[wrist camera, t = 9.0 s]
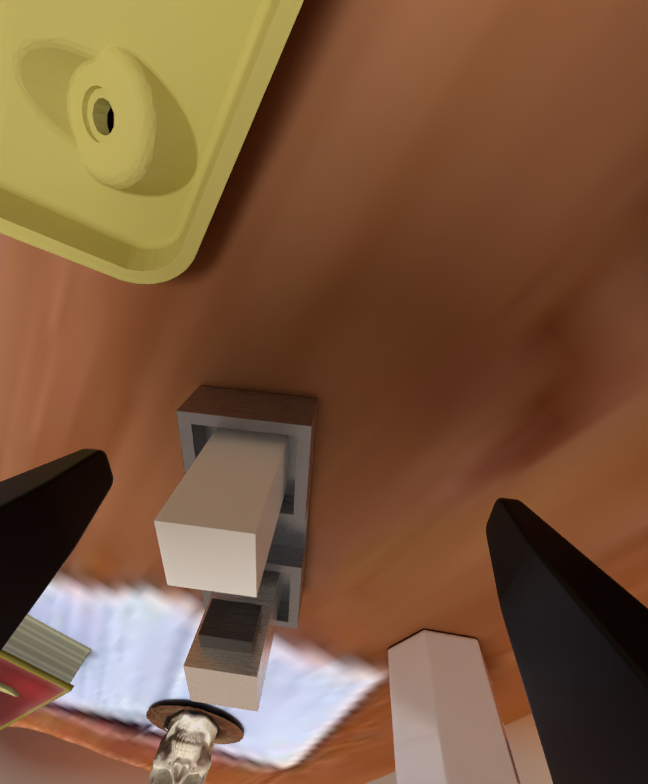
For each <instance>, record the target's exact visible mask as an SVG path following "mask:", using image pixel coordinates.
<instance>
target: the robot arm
mask: <svg viewBox="0 0 648 784" xmlns="http://www.w3.org/2000/svg"><path fill="white" fill-rule="evenodd" d="M112 483H113V475H112V471H111V468H110V465H109V462H108V459H107V455H106V454H105V452H104V451H102V450H97V449H82V450H79V451H77V452H74V453H72V454H69V455H67V456H64V457H62V458H59V459H57V460H54V461H52V462H49V463H47V464H44V465H42V466H39V467H37V468H34V469H32V470H29V471H26V472H24V473H21V474H19V475H16V476H14V477H11V478H9V479H6V480H4V481H1V482H0V651H1V650H2V649H3V647H4V646H5V644H6V643H7V642H8V640H9V639H10V638H11V636H12V635H13V633H14V632H15V631H16V629H17V628H18V626H19V625H20V624H21V622H22V621H23V619H24V618H25V617H26V615H27V614H28V613H29V611H30V610H31V608H32V607H33V606H34V604H35V603H36V601H37V600H38V599H39V597H40V596H41V594H42V593H43V592H44V590H45V589H46V587H47V586H48V585H49V583H50V582H51V581H52V579H53V578H54V576H55V575H56V574H57V572H58V571H59V569H60V568H61V567H62V565H63V564H64V562H65V561H66V560H67V558H68V557H69V555H70V554H71V552H72V551H73V550H74V548H75V547H76V545H77V543H78V542H79V540H80V539H81V537H82V535H83V534H84V532H85V530H86V529H87V527H88V525H89V524H90V522H91V520H92V519H93V517H94V515H95V513H96V512H97V510H98V508H99V507H100V505H101V503H102V502H103V500H104V498H105V497H106V495H107V493H108V491H109V490H110V488H111V486H112ZM486 535H487V541H488V546H489V551H490V556H491V562H492V567H493V572H494V577H495V583H496V588H497V593H498V598H499V602H500V607H501V611H502V614H503V618H504V621H505V625H506V628H507V631H508V635H509V638H510V641H511V645H512V648H513V651H514V655H515V658H516V661H517V665H518V668H519V671H520V675H521V678H522V681H523V685H524V688H525V691H526V695H527V698H528V701H529V705H530V708H531V711H532V715H533V718H534V721H535V725H536V727H537V731H538V734H539V738H540V741H541V744H542V747H543V751H544V754H545V758H546V761H547V764H548V768H549V771H550V774H551V778H552V781H553V784H648V608H646V607H645V606H644V605H643V604H642V603H640V602H639V601H638V600H637V599H636V598H635V597H633V596H632V595H631V594H630V593H629V592H627V591H626V590H625V589H624V588H623V587H622V586H620V585H619V584H618V583H617V582H616V581H614V580H613V579H612V578H611V577H610V576H609V575H607V574H606V573H605V572H604V571H603V570H601V569H600V568H599V567H598V566H597V565H596V564H594V563H593V562H592V561H591V560H590V559H588V558H587V557H586V556H585V555H584V554H583V553H581V552H580V551H579V550H578V549H577V548H575V547H574V546H573V545H572V544H571V543H570V542H568V541H567V540H566V539H565V538H564V537H562V536H561V535H560V534H559V533H558V532H556V531H555V530H554V529H553V528H552V527H551V526H549V525H548V524H547V523H546V522H545V521H543V520H542V519H541V518H540V517H539V516H538V515H536V514H535V513H534V512H533V511H532V510H530V509H529V508H528V507H527V506H526V505H525V504H523V503H522V502H521V501H519V500H516V499H508V498H499V499H497V500H496V502H495V504H494V507H493V509H492V512H491V514H490V517H489V520H488V522H487V526H486Z"/></svg>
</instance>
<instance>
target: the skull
mask: <svg viewBox="0 0 648 784" xmlns="http://www.w3.org/2000/svg"><path fill="white" fill-rule="evenodd" d="M155 706H157V705H155ZM146 716H147V719H149V721H150V722H152V723H153V724H155V726H157V727H158V728H161V729H162V730H164V731H166V729H168V731H166V732H167V734H166V735H165V736H164V737H163V739H162V740H161V742H160V746H159V749H158V751H157V754H156V757H155V759H154V762H153V766H152V770H151V773H150V777H149V784H204V783H205V779H206V776H207V774H208V770H209V768H210V766H211V763H212V761H211V755H212V751H213V743H217V744H229V743H236V742H239V741H240V740H241V739H242V738H243V732H242V730H241V729H240V728H239V727H238V726H236V725H235V724H234V723H231V722H232V721H231V722H230V721H228V720H226V719H224V718H222V717H219V716H217V715H215V714H212V713H209V712H206V711H203V710H201V709H198V708H196V709H195V708H194V707H190V706H186V707H185V706H176V705H175V706H172V705H169V706H166V704H165V706H163V705H161V706H160V705H158V707H153V708H150V710H148V712H147V715H146ZM165 728H166V729H165Z"/></svg>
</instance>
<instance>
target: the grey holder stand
mask: <svg viewBox="0 0 648 784" xmlns="http://www.w3.org/2000/svg"><path fill="white" fill-rule="evenodd" d="M317 404H318V398H309V397H300V396H291V395H282V394H273V393H264V392H255V391H246V390H237V389H228V388H219V387H210V386H201V385H200V386H199V387H198V389H197V390H196V391H195V392H194V393H193V394H192V395H191V396H190V397H189V398H188V399H187V400H186V401H185V402H184V403H183V404H182V405H181V406H180V408H179V409H178V410H177V411H176V412H177V419H178V426H179V433H180V440H181V447H182V454H183V461H184V468H185V474H186V473H187V471H188V470H189V468H190V467H191V465H192V464H193V462H194V461H195V459H196V458H197V456H198V455H199V453H200V452H201V450H202V449H203V448H204V446H205V445H206V443H207V442H208V440H209V439H210V437H211V436H212V434H213V433H214V431H215V430H216V428H217V427H222V428H230V429H239V430H247V431H256V432H265V433H273V434H282V435H289V440H288V466H287V487H286V490H285V494H284V498H283V502H282V505H281V509H280V513H279V516H278V520H277V524H276V528H275V531H274V535H273V539H272V542H271V546H270V550H269V553H268V557H267V561H266V565H265V568H264V572H263V576H262V579H261V583H260V587H259V591H258V594H257V597H249V596H242V595H235V594H228V593H221V592H214V591H207V590H202V594H203V601H204V608H205V612H204V615H203V617H202V620H201V623H200V625H199V628H198V630H197V633H196V635H195V638H194V640H193V643H192V646H191V648H190V651H189V653H188V656H187V658H186V661H185V663H184V671H185V675H186V680H187V684H188V689H189V693H190V698H191V701H194V702H201V703H207V704H214V705H220V706H226V707H233V708H239V709H246V710H252V711H258V708H259V704H260V699H261V694H262V689H263V684H264V679H265V674H266V669H267V665H268V660H269V655H270V650H271V645H272V640H273V635H274V630H275V626H281V627H288V628H295V629H297V628H298V621H299V615H300V608H301V601H302V595H303V586H304V573H305V560H306V547H307V534H308V521H309V508H310V495H311V482H312V469H313V456H314V443H315V430H316V417H317Z"/></svg>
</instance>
